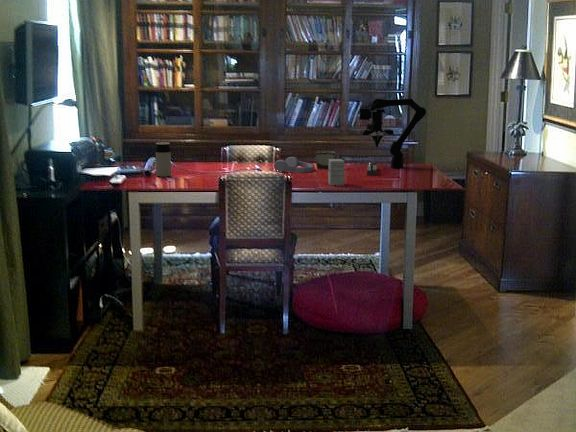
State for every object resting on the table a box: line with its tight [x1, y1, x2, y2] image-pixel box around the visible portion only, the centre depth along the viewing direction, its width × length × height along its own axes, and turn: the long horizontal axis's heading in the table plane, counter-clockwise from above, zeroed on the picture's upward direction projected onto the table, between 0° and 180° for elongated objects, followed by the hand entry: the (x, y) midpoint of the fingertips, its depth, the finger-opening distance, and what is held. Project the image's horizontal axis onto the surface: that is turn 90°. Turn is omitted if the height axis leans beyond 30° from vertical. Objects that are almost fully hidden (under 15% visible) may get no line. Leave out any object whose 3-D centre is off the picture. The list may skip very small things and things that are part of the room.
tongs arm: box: [371, 164, 378, 176], centre depth 448 cm, size 24×2×2 cm, turn 174°
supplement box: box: [327, 158, 345, 187], centre depth 406 cm, size 7×7×13 cm
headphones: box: [273, 156, 315, 174], centre depth 456 cm, size 22×7×20 cm
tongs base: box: [366, 161, 377, 176], centre depth 451 cm, size 28×5×4 cm, turn 174°
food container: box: [314, 150, 337, 170], centre depth 463 cm, size 12×6×10 cm, turn 84°
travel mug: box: [155, 141, 172, 178], centre depth 432 cm, size 8×8×18 cm
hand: (376, 147), depth 466 cm, fingers closed
